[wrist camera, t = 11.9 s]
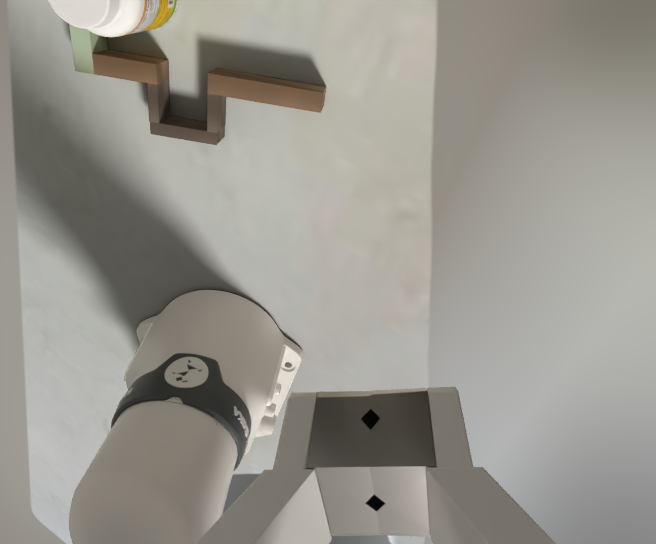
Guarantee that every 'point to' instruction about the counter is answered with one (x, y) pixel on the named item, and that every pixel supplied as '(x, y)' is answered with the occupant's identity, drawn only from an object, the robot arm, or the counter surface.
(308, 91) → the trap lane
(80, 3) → the supplement bottle
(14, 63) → the counter surface
